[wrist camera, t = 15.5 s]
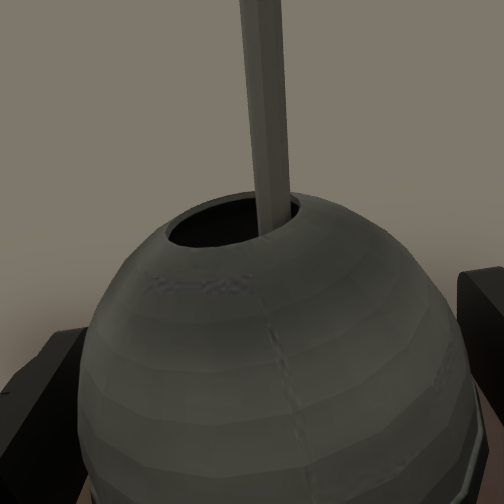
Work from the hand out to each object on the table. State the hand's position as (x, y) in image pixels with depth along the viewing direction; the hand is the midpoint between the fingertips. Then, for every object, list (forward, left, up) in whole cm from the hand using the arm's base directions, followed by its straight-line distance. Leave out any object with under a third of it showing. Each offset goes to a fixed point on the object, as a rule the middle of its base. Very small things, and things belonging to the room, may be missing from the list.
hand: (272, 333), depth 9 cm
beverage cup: (0, +1, -12) cm, 12 cm away
